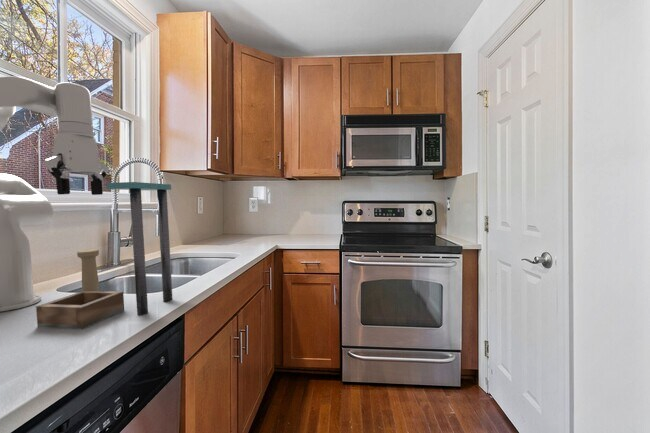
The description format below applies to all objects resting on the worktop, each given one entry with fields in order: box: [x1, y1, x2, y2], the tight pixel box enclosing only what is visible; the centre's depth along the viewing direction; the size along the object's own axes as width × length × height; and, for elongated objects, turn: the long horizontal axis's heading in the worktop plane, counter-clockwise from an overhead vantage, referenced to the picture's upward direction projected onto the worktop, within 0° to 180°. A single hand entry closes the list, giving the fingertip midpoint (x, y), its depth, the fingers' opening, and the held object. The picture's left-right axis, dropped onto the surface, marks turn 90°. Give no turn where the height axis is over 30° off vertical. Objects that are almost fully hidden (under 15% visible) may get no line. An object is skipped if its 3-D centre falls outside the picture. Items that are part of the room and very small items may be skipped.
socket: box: [35, 290, 125, 330], centre depth 76 cm, size 12×12×5 cm
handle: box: [76, 248, 100, 291], centre depth 89 cm, size 5×6×15 cm
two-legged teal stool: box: [106, 181, 173, 316], centre depth 83 cm, size 8×14×34 cm, turn 172°
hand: (81, 194), depth 84 cm, fingers open, 9 cm apart
